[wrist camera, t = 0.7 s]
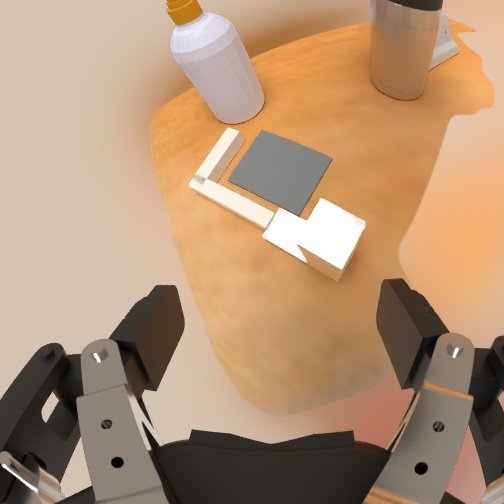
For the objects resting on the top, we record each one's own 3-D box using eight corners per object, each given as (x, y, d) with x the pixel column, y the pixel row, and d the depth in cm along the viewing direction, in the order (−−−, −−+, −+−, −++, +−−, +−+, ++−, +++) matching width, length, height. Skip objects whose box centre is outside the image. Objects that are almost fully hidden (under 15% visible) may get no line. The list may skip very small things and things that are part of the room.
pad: (262, 130, 37) (261, 129, 37) (332, 159, 33) (332, 158, 33) (228, 181, 37) (227, 180, 37) (298, 216, 33) (298, 215, 33)
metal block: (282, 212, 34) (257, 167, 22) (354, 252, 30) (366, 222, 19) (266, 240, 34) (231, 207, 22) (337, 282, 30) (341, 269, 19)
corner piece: (234, 136, 38) (228, 127, 36) (310, 167, 34) (308, 158, 32) (196, 192, 38) (188, 185, 36) (270, 233, 34) (265, 227, 31)
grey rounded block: (419, 76, 31) (409, 24, 23) (398, 68, 34) (385, 19, 26) (459, 52, 29) (453, 9, 22) (440, 45, 32) (432, 4, 25)
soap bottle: (255, 77, 40) (200, -36, 17) (272, 112, 37) (213, -24, 15) (209, 96, 41) (135, -5, 19) (220, 133, 39) (131, 17, 17)
